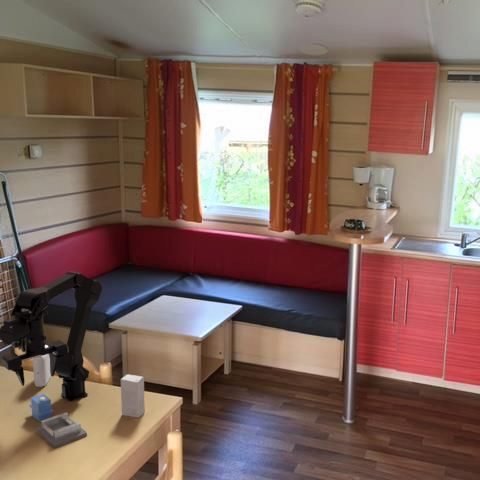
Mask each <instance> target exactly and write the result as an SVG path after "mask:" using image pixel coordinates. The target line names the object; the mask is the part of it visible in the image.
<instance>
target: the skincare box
mask: <svg viewBox="0 0 480 480" xmlns="http://www.w3.org/2000/svg"><path fill="white" fill-rule="evenodd" d="M144 381H145V380H144V376H142V375H141V376H140V375H134V374H128V373H127V374H125V375H124V376H123V377H122V378H120V399H121V415H122V416H127V417H131V418H136V419H139V418H140V417H141V416H142V415H143V414H145V412H146V410H145V409H146V408H145V406H146V404H145V382H144Z"/></svg>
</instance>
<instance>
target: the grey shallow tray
mask: <svg viewBox="0 0 480 480" xmlns="http://www.w3.org/2000/svg"><path fill="white" fill-rule="evenodd" d="M40 423H41V424H40V426H37V427H35V432H36V433H37V434H38V435H40V436H41V437H42V438H43V439H44V440H45V441H46V442H47V443H48V444H49V445H50V446H52V448H53V449H57V448H58V447H61V446H63V445H66V444H68V443H71V442H74V441H76V440H79V439H82V438H84V437H86V436H87V437H88V433H87V431H86V430H85V429H83V428H82V423H80V421H79V422H78V421H77V422H75V421H74V420H72V419H71V418H70V417H69V413H68V412H63V413H59V414H57V415H54V416H52V417H51V418H48V419H45V420H43V421H40Z"/></svg>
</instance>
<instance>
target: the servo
mask: <svg viewBox="0 0 480 480" xmlns="http://www.w3.org/2000/svg"><path fill="white" fill-rule="evenodd" d="M51 401H52V400H51V398H50V397H48V396H47V395H46V394H44V393H42V394H39V395H35V396H32V397H30V404H29V408H30V409H31V416H32V417H33V418H34V419H35V420H37V421H38V422H39V423H41V421H43V420H45V419H48V418H51V417H53V416H52V413H54V409H52V402H51Z"/></svg>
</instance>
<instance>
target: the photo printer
mask: <svg viewBox="0 0 480 480" xmlns="http://www.w3.org/2000/svg"><path fill="white" fill-rule="evenodd" d="M47 347H48V344H45V348H47ZM32 366H33V367H32V368H33V378H34V379H33V380H34V387H36V388H44V387H45V386H47V385H48V382H49V381H50V378H51V377H52V376H51V374H50V357H49V354H46V355H43V356H39V357H36V358H32ZM43 386H44V387H43Z"/></svg>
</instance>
